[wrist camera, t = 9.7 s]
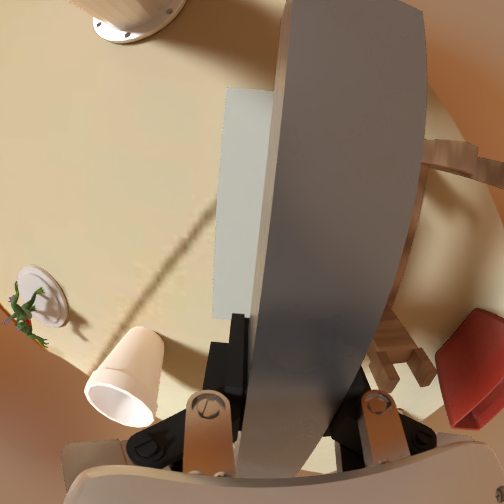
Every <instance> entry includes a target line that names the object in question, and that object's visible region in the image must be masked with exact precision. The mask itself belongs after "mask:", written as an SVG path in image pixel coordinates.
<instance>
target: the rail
mask: <svg viewBox="0 0 504 504" xmlns="http://www.w3.org/2000/svg"><path fill="white" fill-rule="evenodd" d="M426 57H427V56H426V41H425V29H424V20H423V13H422V11H420V10H418V9H416V8H414V7H412V6H410V5H408V4H406V3H404V2H401V1H399V0H286V4H285V8H284V12H283V15H282V19H281V25H280V35H279V46H278V56H277V66H276V76H275V86H274V96H273V105H272V115H271V125H270V135H269V144H268V154H267V163H266V173H265V182H264V191H263V201H262V210H261V219H260V229H259V238H258V247H257V256H256V265H255V274H254V283H253V292H252V301H251V310H250V319H249V327H248V372H247V393H246V400H245V407H244V414H243V421H242V427H241V431H238V437H237V441H235V447H234V463H235V474H236V478H256V479H269V478H294V477H295V476H296V475H297V473H298V472H299V471H300V469H301V468H302V466H303V465H304V463H305V462H306V461H307V459H308V458H309V456H310V455H311V453H312V452H313V450H314V449H315V447H316V446H317V444H318V442H319V441H320V439H321V438H322V436H323V435H324V433H325V431H326V430H327V428H328V426H329V425H330V423H331V421H332V419H333V418H334V416H335V414H336V413H337V411H338V409H339V407H340V405H341V403H342V402H343V400H344V398H345V396H346V394H347V392H348V390H349V388H350V386H351V384H352V382H353V380H354V378H355V376H356V374H357V372H358V370H359V368H360V366H361V364H362V362H363V359H364V357H365V355H366V353H367V350H368V348H369V346H370V344H371V341H372V339H373V336H374V334H375V332H376V329H377V327H378V324H379V322H380V319H381V316H382V314H383V311H384V308H385V306H386V303H387V300H388V297H389V294H390V291H391V288H392V285H393V282H394V279H395V276H396V273H397V270H398V266H399V263H400V259H401V256H402V252H403V249H404V245H405V241H406V237H407V233H408V229H409V225H410V221H411V216H412V212H413V207H414V202H415V197H416V192H417V186H418V180H419V174H420V168H421V161H422V153H423V144H424V134H425V122H426V106H427V58H426Z"/></svg>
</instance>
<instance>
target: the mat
mask: <svg viewBox="0 0 504 504" xmlns="http://www.w3.org/2000/svg"><path fill="white" fill-rule="evenodd" d="M273 96H274V91H267V90H258V89H246V88H230V87H227V93H226V102H225V112H224V122H223V133H222V144H221V156H220V168H219V181H218V196H217V211H216V228H215V248H214V272H213V302H212V318H216V319H226V320H231V318H232V313H238V314H245V318H250V310H251V301H252V292H253V283H254V274H255V265H256V256H257V247H258V238H259V229H260V219H261V210H262V201H263V191H264V182H265V173H266V163H267V154H268V144H269V135H270V125H271V115H272V105H273Z"/></svg>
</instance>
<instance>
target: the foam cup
mask: <svg viewBox="0 0 504 504" xmlns="http://www.w3.org/2000/svg"><path fill="white" fill-rule="evenodd" d="M164 350H165V349H164V342H163V340H162V339H161V337H160V336H159V335H158V334H157V333H155V332H154V331H153V330H150V329H148V328H145V327H134V328H132V329H130V330H129V331H128V332H127V333H126V335H125V336H124V337H123V338H122V339H121V341H120V342H119V343H118V344H117V345H116V347H115V348H114V349H113V350H112V352H111V353H110V354H109V355H108V356H107V358H106V359H105V360H104V361H103V363H102V364H101V365H100V366H99V368H98V369H97V370H96V371H93V373H92V375H91V377H90V379H89V381H88V382H87V384H86V387H85V390H84V392H85V395H86V397H87V399H88V401H89V402H90V403H91V404H92V405H93V406H94V407H95V408H96V410H98V411H99V412H100V413H102V414H103V415H105V416H106V417H108V418H109V419H111V420H114V421H116V422H118V423H121V424H123V425H127V426H132V427H145V426H149V425H150V424H151V423H152V422H153V421H154V418H155V415H156V411H157V408H158V405H157V397H158V390H159V383H160V376H161V369H162V363H163V357H164Z"/></svg>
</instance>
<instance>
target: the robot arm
mask: <svg viewBox="0 0 504 504" xmlns="http://www.w3.org/2000/svg"><path fill="white" fill-rule="evenodd" d="M66 1H68V2H70V3H71V4H73V5H75V6H76V7H78V8H80V9H81V10H83V11H84V12H86V13H88V14H89V15H91V16H92V17H93V26H94V29H95V31H96V33H97V34H98V35H99V36H100V37H102V38H103V39H105V40H107V41H109V42H113V43H130V42H134V41H138V40H141V39H144V38H146V37H148V36H151V35H152V34H154V33H156V32H158V31H159V30H161V29H162V28H164V27H165V26H166V25H168V24H169V23H170V22H171V21H172V20H173V19H174V18H175V17H176V16H177V15H178V14H179V12H180V11H181V10H182V8H183V6H184V5H185V3H186V0H66ZM170 13H171V14H170ZM249 319H250V318H245V314H238V313H232V318H231V327H230V337H229V343H220V342H211V345H210V350H209V355H208V361H207V367H206V372H205V378H204V384H203V390H201V391H198V392H196V393H194V394H193V395H191V396H190V398H189V399H188V401H187V405H186V409H184V410H182V411H181V412H179V413H177V414H175V415H173V416H171V417H169V418H167V419H165V420H163V421H161V422H159V423H157V424H155V425H153V426H151V427H148V428H147V429H145V430H142V431H140V432H138V433H136V434H134V435H133V436H131V437H130V438H129V440H122V441H120V440H119V439H112V440H104V441H92V442H78V443H71V444H68V445H66V446H65V447H64V448H63V450H62V452H61V462H62V469H63V474H64V481H65V486H66V491H67V495H66V498H65V500H64V503H63V504H504V470H503V468H502V466H501V464H500V462H499V460H498V458H497V456H496V455H495V453H494V451H493V450H492V449H491V448H490V447H489V446H488V445H487V444H485V443H483V442H479V441H475V440H474V439H473V438H472V437H470V436H467V435H458V434H450V433H443V432H437V433H436V434H435V432H434V431H433V430H432V429H431V428H429V427H428V426H425V425H423V424H421V423H419V422H417V421H415V420H413V419H411V418H409V417H407V416H405V415H403V414H401V413H399V412H398V411H397V407H396V404H395V402H394V400H393V398H392V397H391V396H390V395H389V394H388V393H386V392H384V391H381V390H371V388H370V386H369V383H368V381H367V378H366V376H365V373H364V371H363V369H362V366H360V368H359V370H358V372H357V374H356V376H355V378H354V380H353V382H352V384H351V386H350V388H349V390H348V392H347V394H346V396H345V398H344V400H343V402H342V403H341V405H340V407H339V409H338V411H337V413H336V414H335V416H334V418H333V419H332V421H331V423H330V425H329V426H328V428H327V430H326V431H325V433H324V435H323V437H326V436H331V438H332V439H333V440H335V453H336V464H337V473H335V474H327V475H318V476H309V477H295V478H269V479H256V478H236V474H235V463H234V451H233V443H234V442H235V441H237V437H238V431H241V427H242V421H243V414H244V407H245V400H246V393H247V372H248V327H249Z"/></svg>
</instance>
